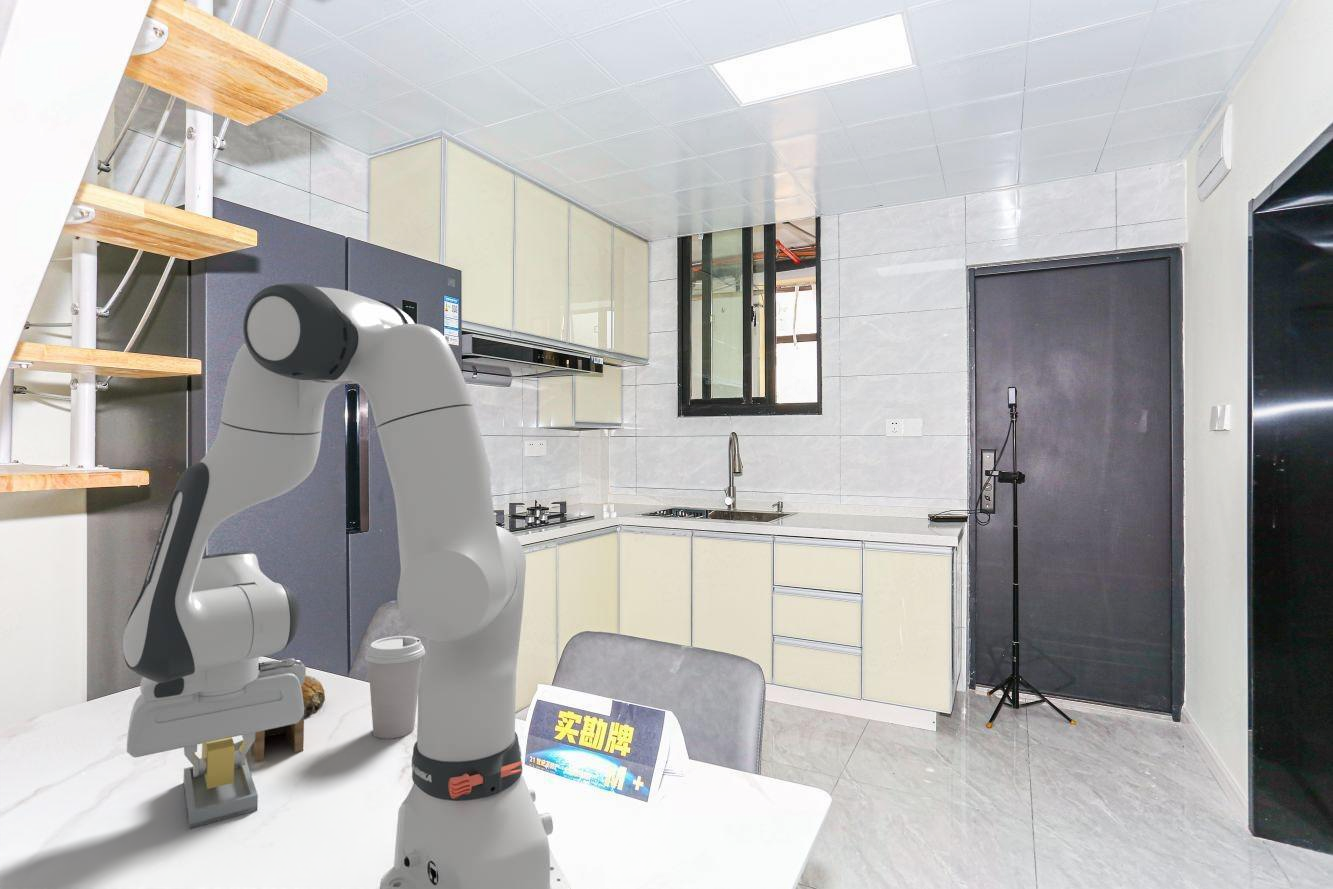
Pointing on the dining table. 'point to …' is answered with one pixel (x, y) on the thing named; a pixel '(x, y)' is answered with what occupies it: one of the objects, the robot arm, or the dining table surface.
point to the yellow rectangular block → (219, 762)
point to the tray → (219, 797)
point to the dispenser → (292, 731)
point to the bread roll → (312, 695)
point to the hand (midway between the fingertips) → (219, 769)
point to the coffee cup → (394, 684)
